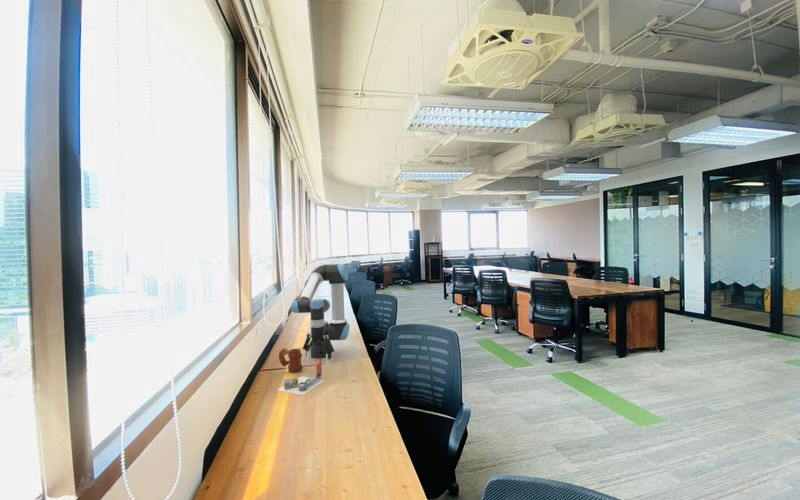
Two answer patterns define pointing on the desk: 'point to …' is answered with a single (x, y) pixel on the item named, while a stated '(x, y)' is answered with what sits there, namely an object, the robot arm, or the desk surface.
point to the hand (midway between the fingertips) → (318, 363)
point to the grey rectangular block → (287, 384)
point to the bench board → (303, 391)
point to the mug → (291, 359)
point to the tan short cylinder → (294, 383)
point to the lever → (318, 375)
